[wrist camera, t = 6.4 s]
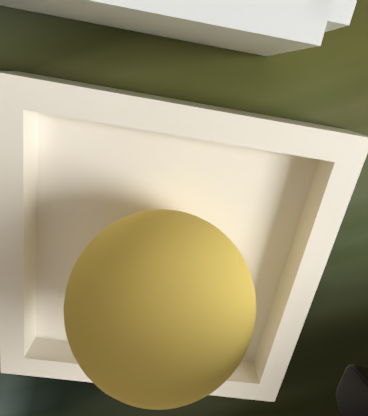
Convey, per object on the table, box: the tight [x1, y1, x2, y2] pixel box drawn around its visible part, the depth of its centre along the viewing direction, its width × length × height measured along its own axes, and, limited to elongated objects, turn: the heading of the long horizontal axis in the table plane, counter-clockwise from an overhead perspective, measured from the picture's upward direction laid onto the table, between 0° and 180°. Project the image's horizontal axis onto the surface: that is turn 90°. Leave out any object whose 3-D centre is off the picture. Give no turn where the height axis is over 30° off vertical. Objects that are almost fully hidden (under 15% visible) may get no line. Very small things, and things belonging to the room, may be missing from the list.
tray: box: [0, 71, 368, 402], centre depth 11 cm, size 10×10×2 cm
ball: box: [63, 209, 256, 410], centre depth 9 cm, size 5×5×5 cm
